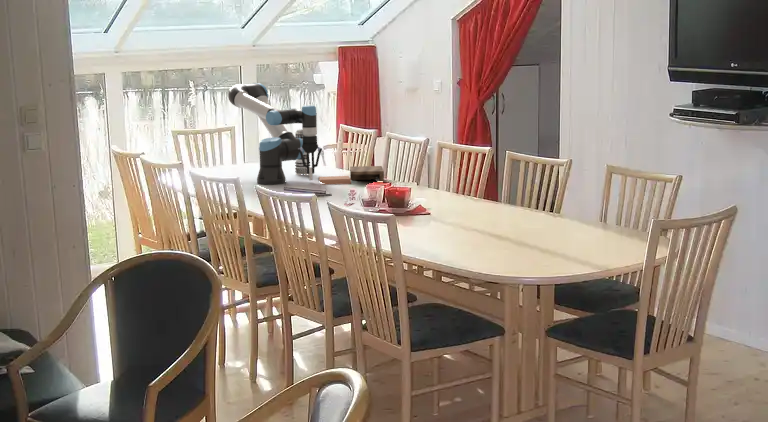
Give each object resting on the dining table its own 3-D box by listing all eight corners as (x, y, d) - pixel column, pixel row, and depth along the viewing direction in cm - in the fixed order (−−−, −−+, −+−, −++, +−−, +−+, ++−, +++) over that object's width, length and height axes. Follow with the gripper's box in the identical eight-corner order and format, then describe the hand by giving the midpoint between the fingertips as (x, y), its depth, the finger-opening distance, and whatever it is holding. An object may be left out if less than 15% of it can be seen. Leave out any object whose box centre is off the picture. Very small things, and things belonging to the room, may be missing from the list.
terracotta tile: (320, 185, 498) (320, 179, 498) (318, 182, 509) (318, 176, 509) (351, 184, 501) (350, 178, 500) (348, 181, 512) (348, 175, 511)
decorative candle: (312, 173, 539) (311, 129, 535) (309, 175, 530) (308, 130, 526) (296, 173, 540) (295, 129, 536) (293, 175, 531) (292, 130, 527)
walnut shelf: (351, 185, 496) (351, 171, 494) (350, 179, 515) (350, 166, 514) (383, 184, 496) (383, 171, 495) (381, 178, 516) (381, 166, 515)
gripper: (297, 136, 496) (298, 181, 500) (322, 135, 496) (323, 180, 500) (297, 134, 503) (298, 179, 507) (322, 134, 504) (323, 178, 508)
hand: (311, 179), depth 504 cm, fingers closed
